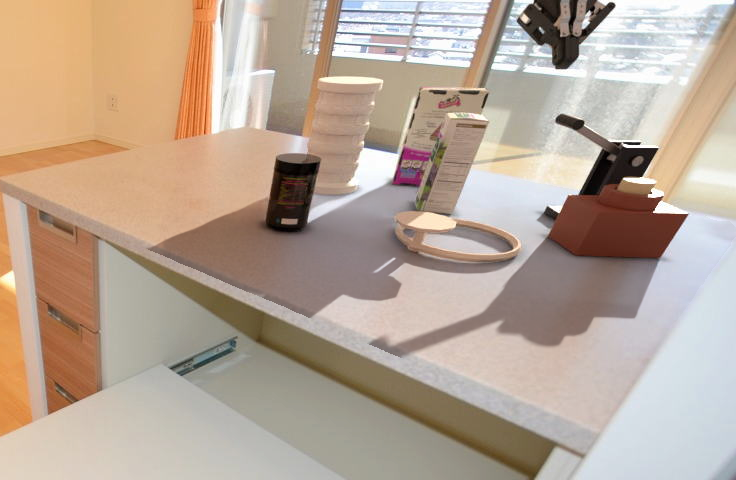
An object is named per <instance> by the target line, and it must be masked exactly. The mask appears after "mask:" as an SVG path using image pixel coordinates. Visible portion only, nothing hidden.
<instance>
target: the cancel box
mask: <svg viewBox="0 0 736 480" xmlns="http://www.w3.org/2000/svg"><path fill="white" fill-rule="evenodd" d="M618 186H619V184H610V185H605V186H604V188H603V190H602V191H601V193H600V195H578V194H568V195H567V197H566V199H565V200H564V203H563V205H562V206H563V207H562V209H561V211H560V212H559V214H558V216H557V218H556V220H554V222H553V224H552V227H551V228H550V230H549V232H548V234H547V237H548V238H550V239H551V240H552V241H554V242H555V243H557V244H558V245H560V246H561V247H562V248H564V249H565V250H567V251H568V252H569V253H571V254H573V255H574V256H581V257H583V256H585V257H586V256H587V257H612V258H613V257H614V258H615V257H616V258H643V259H661V258H662V256H663V255H664V253H665V251H666V250H667V248H668V247H669V245H670V244H671V243H672V241H673V240H674V238H675V236H676V235H677V233H678V232H679V230H680V229H681V227H682V226H683V224H684V222H685V221H686V220H687V218H688V216H689V215H690V213H689V212H686V211H684V210H681V209H679V208H678V207H675V206H673V205H671V204H668V203H666V202H664V201H662V200H663V198H664V197H665V194H664V191H662V190H658V189H656V188H653V189H652V191H651V192H650V194H649V195H638V194H631V193H625V192H621V191H618V190H617V188H618Z"/></svg>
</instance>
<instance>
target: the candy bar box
mask: <svg viewBox="0 0 736 480" xmlns="http://www.w3.org/2000/svg"><path fill="white" fill-rule="evenodd" d="M489 94H490V91H489V89H488V88H487V87H486V88H485V87H484V88H483V87H441V86H440V87H439V86H438V87H435V86H433V87H429V86H428V87H427V86H425V87H424V86H421V87H419V88H418V91H417V95H416V98H415V101H414V103H413V107H412V112H411V115H410V118H409V121H408V125H407V129H406V132H405V135H404V139H403V142H402V145H401V149H400V152H399V155H398V158H397V162H396V166H395V170H394V172H393V177H392V185H394V186H405V187H418V188H419V187H420V184H421V181H422V178H423V176H424V173H425V170H426V167H427V164H428V162H429V159H430V156H431V153H432V151H433V148H434V145H435V143H436V140H437V137H438V134H439V132H440V129H441V126H442V123H443V120H444V118H445V115H446V113H472V114H478V115H483V111H484V108H485V105H486V102H487V101H488V99H489V98H488V97H489Z"/></svg>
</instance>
